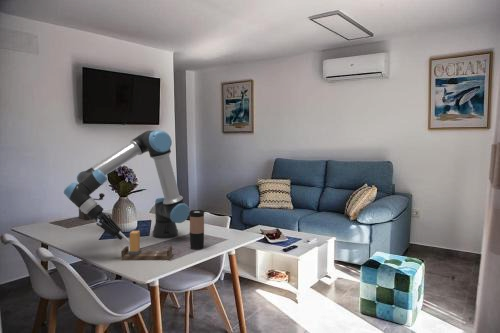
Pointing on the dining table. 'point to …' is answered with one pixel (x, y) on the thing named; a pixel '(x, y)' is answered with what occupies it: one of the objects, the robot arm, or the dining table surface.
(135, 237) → the fader knob
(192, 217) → the travel mug
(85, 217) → the brown manual coffee grinder
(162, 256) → the fader rail
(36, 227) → the dining table surface
